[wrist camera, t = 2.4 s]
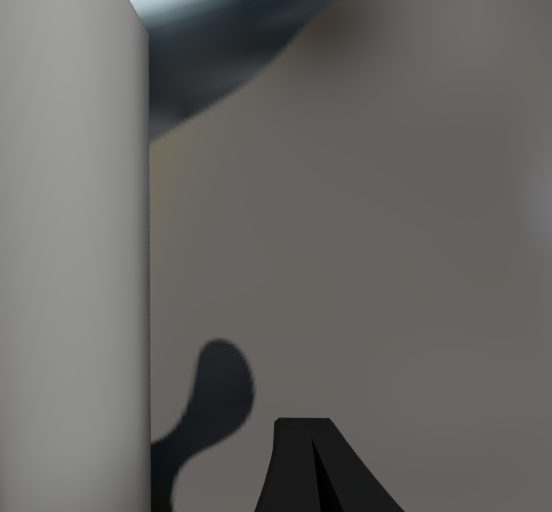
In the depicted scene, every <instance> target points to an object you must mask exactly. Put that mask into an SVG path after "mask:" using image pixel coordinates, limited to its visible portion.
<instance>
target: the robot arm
mask: <svg viewBox="0 0 552 512" xmlns="http://www.w3.org/2000/svg"><path fill="white" fill-rule="evenodd" d="M274 423H275V424H274V440H273V451H272V456H271V460H270V464H269V468H268V472H267V475H266V479H265V482H264V486H263V489H262V492H261V495H260V497H259V500H258V503H257V506H256V509H255V511H254V512H404V511H403V509H402V508H401V507H400V506H399V505H398V504H397V503H396V502H395V500H394V499H393V498H392V497H391V496H390V495H389V494H388V492H387V491H386V490H385V489H384V488H383V486H382V485H381V484H380V483H379V482H378V480H377V479H376V478H375V477H374V476H373V474H372V473H371V472H370V471H369V469H368V468H367V467H366V466H365V465H364V463H363V462H362V461H361V459H360V458H359V457H358V456H357V454H356V453H355V452H354V450H353V449H352V448H351V446H350V445H349V444H348V442H347V441H346V440H345V438H344V437H343V436H342V434H341V433H340V431H339V430H338V429H337V427H336V426H335V424H334V423H333V422H332V421H331V420H330V419H329V418H278V419H277V420H276V421H275V422H274Z"/></svg>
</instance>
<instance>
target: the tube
mask: <svg viewBox="0 0 552 512" xmlns="http://www.w3.org/2000/svg"><path fill="white" fill-rule="evenodd" d="M149 218H150V217H149V34H148V32H147V30H146V29H145V27H144V25H143V23H142V22H141V20H140V18H139V16H138V14H137V13H136V11H135V9H134V7H133V6H132V4H131V2H130V0H0V512H151V435H150V434H151V431H150V430H151V427H150V237H149V236H150V221H149V220H150V219H149Z"/></svg>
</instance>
